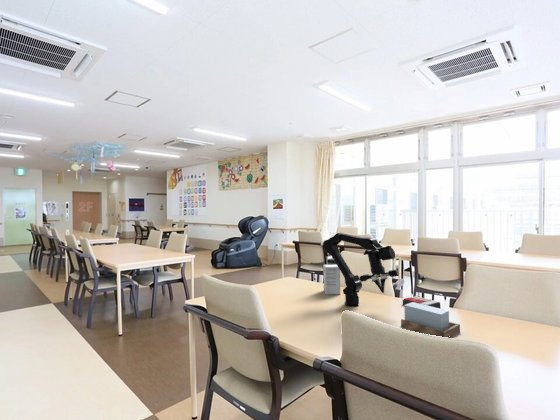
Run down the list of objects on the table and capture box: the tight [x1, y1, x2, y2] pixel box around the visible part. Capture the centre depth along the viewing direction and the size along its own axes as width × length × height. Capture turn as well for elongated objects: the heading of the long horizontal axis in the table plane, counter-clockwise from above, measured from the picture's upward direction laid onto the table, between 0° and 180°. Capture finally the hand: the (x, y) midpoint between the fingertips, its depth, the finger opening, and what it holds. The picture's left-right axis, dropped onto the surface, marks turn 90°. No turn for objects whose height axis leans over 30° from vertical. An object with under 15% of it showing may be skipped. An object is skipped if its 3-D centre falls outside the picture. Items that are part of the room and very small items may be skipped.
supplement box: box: [322, 264, 341, 295], centre depth 191 cm, size 10×9×17 cm
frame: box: [400, 318, 461, 338], centre depth 132 cm, size 18×14×3 cm
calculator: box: [402, 295, 442, 309], centre depth 162 cm, size 11×4×15 cm
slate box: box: [404, 302, 450, 332], centre depth 133 cm, size 16×7×9 cm, turn 38°
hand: (383, 292), depth 154 cm, fingers closed
